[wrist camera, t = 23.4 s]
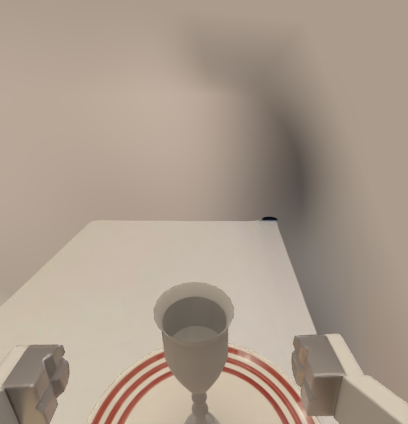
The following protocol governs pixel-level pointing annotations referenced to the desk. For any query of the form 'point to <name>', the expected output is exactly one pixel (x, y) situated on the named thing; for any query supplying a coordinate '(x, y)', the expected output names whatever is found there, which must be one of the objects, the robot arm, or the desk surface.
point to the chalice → (195, 339)
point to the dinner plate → (216, 396)
